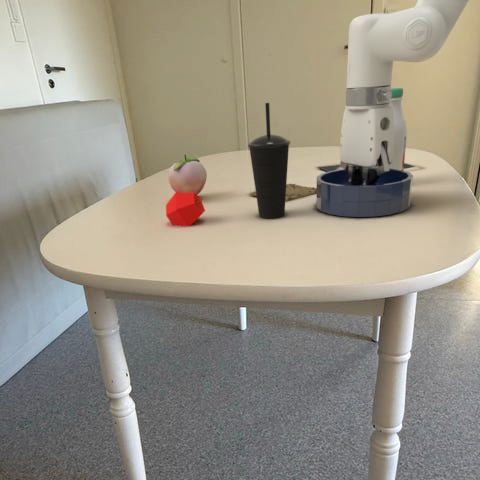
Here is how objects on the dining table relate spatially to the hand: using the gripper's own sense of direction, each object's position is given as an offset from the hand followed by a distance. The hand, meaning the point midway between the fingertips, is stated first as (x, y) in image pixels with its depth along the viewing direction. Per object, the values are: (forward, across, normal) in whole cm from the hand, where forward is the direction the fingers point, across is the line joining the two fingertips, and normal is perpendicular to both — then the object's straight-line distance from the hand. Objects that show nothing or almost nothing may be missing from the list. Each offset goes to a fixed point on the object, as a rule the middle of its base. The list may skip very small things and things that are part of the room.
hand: (361, 202), depth 87 cm
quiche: (+1, +29, -27) cm, 39 cm away
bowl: (+1, 0, 0) cm, 1 cm away
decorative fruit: (+1, +32, +24) cm, 40 cm away
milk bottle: (+1, +10, -15) cm, 18 cm away
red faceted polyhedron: (+1, +13, +32) cm, 34 cm away
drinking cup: (+1, +6, +17) cm, 18 cm away
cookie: (+1, +20, +5) cm, 21 cm away
